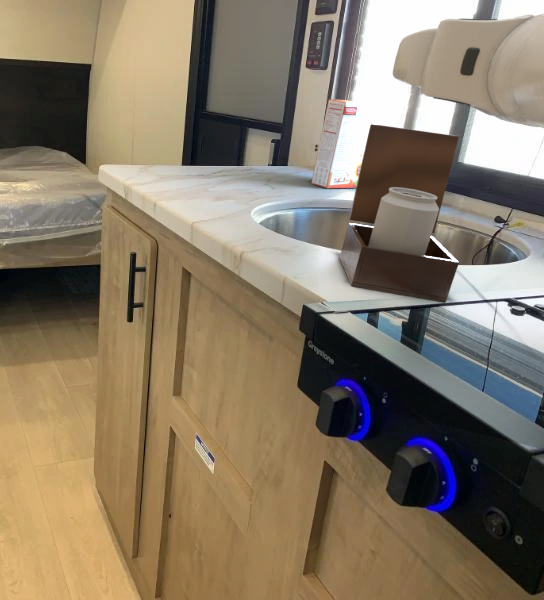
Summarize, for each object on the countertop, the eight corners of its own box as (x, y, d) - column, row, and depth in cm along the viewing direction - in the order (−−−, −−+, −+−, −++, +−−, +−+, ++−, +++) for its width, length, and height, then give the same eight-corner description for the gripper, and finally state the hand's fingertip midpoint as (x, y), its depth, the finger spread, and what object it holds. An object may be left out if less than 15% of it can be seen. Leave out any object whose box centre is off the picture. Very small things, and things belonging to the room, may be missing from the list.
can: (413, 272, 88) (438, 191, 83) (420, 288, 81) (448, 201, 76) (360, 261, 89) (382, 182, 85) (363, 276, 83) (387, 191, 78)
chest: (445, 302, 79) (459, 262, 76) (351, 286, 80) (361, 246, 78) (421, 271, 91) (432, 236, 89) (339, 257, 92) (348, 222, 90)
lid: (459, 136, 85) (447, 138, 90) (371, 123, 87) (364, 127, 92) (434, 233, 88) (423, 230, 93) (349, 219, 90) (344, 218, 94)
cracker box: (345, 183, 160) (365, 101, 152) (363, 188, 155) (385, 104, 148) (308, 183, 153) (328, 97, 145) (326, 189, 148) (347, 100, 140)
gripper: (686, 46, 49) (598, 51, 61) (425, 16, 51) (393, 26, 64) (652, 126, 51) (574, 115, 64) (404, 93, 54) (377, 89, 66)
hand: (482, 70), depth 64 cm, fingers open, 8 cm apart
